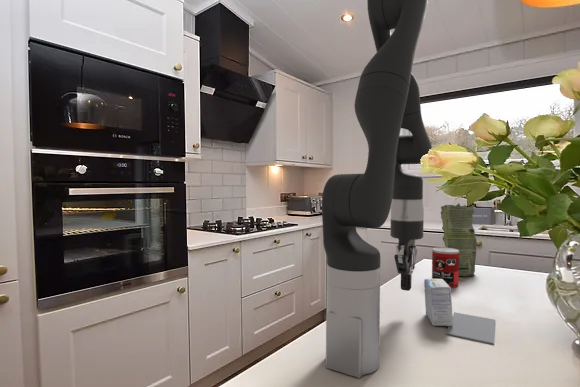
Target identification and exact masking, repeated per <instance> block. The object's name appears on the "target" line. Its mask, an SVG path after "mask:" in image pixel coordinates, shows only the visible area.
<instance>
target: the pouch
mask: <svg viewBox="0 0 580 387" xmlns="http://www.w3.org/2000/svg"><path fill="white" fill-rule="evenodd" d="M467 206H468V205H465V204H464V205H461V204H460V203H459V202H458V203H457V204H456V205H454V204H444V205H442V206H440V210H441V211H440V218H441V222H442V227H441V229H442V230H443V236H442V240H443V243H444V248H453V249H457V250H459V277H468V276H472V275H474V274H475V272H476V259H477V258H476V257H477V247H478V246H477V237H476V233H475V229H474V226H473V220H474V219H473V216H474V214H475V210H474V208H475V204H474V205H472V206H470V207H467Z"/></svg>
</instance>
